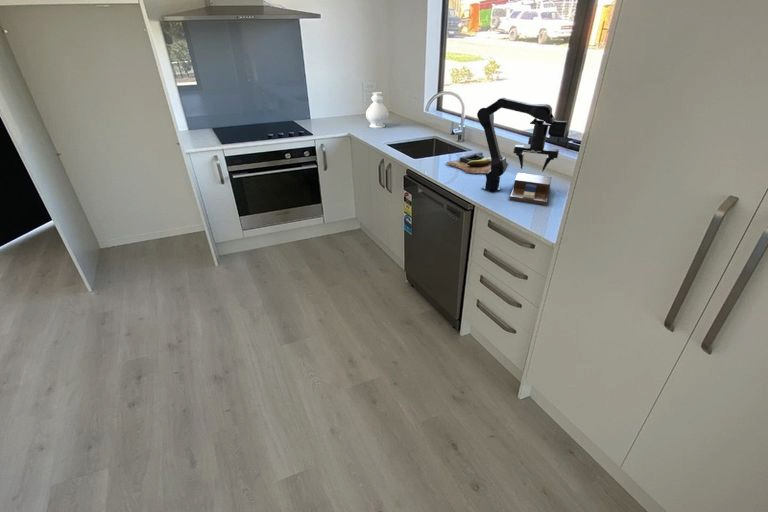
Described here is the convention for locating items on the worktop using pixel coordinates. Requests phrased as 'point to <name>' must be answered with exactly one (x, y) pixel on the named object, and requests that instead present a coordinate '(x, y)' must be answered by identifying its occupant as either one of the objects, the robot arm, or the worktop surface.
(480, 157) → the door handle
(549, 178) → the brown wooden cabinet
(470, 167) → the cutting board
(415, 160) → the worktop surface
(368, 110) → the decorative vase
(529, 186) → the blue sleeved eraser
